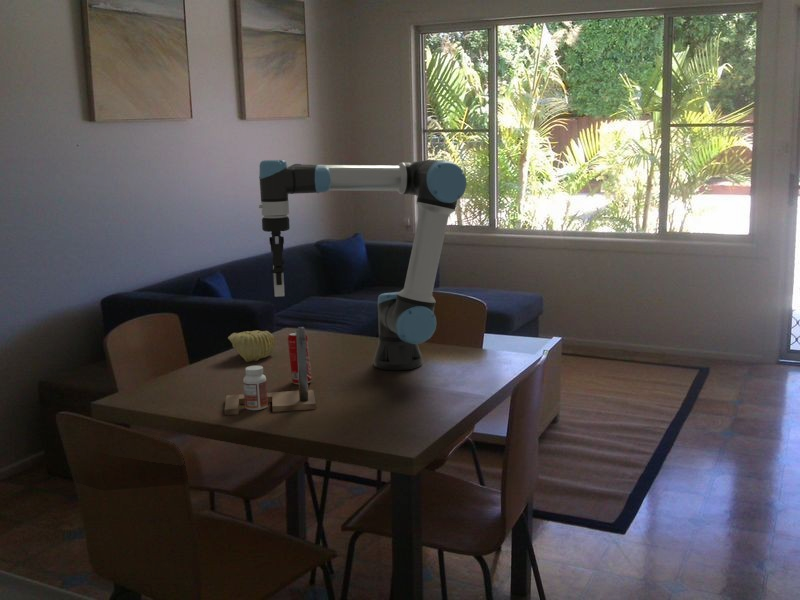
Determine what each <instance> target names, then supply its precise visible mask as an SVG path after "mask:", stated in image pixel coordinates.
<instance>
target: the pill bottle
mask: <svg viewBox="0 0 800 600" xmlns="http://www.w3.org/2000/svg"><path fill="white" fill-rule="evenodd" d="M244 371H245V375H244V376H243V381H242V383H243V394H244V400H245V404H244V408H245V409H246V410H249V411H260V410H263V409H266V408H267V407H268V405H269V402H268V397H267V393H268V387H267V386H268V385H267V383H268V382H267V377H266V375H264V374H263V373H264V367H263V366H262V365H250V366H249V365H248V366H247V367H245V370H244Z"/></svg>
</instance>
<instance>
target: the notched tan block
mask: <svg viewBox="0 0 800 600" xmlns="http://www.w3.org/2000/svg"><path fill="white" fill-rule="evenodd" d="M267 397H268V403H272V405H271V406H272V412H273V413H276V412H288V411H291V412H292V411H303V410H317V404H316V398H315V392H314V389H308V401H306V402H301V401H300V400H299V390H289V391H288V390H287V391H274V392H267ZM240 405H245V400H244V393H242V394H241V393H240V394H231V395H230V394H228V395H226V397H225V404H224V416H230V415H231V416H232V415H239V413H240V412H239V411H240Z"/></svg>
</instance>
